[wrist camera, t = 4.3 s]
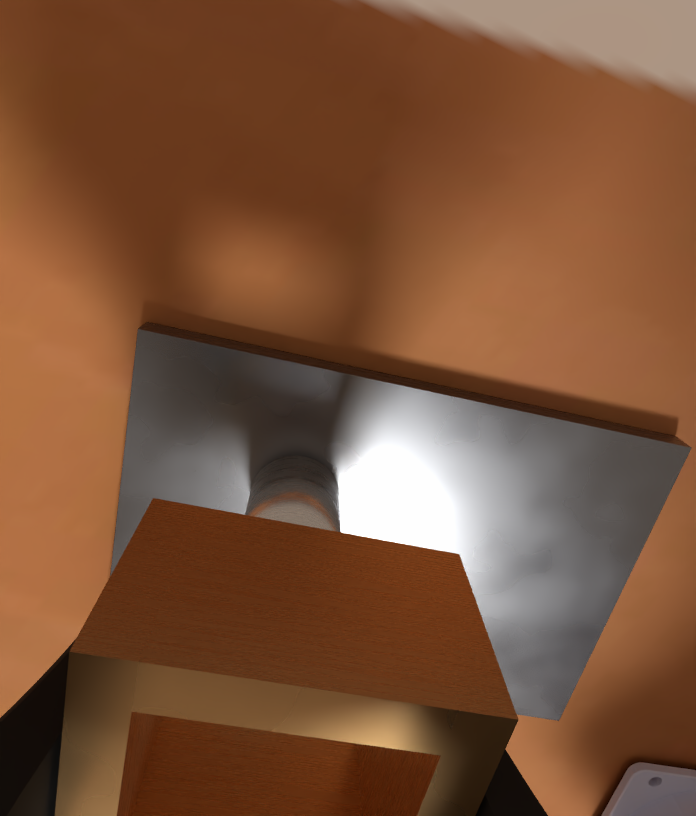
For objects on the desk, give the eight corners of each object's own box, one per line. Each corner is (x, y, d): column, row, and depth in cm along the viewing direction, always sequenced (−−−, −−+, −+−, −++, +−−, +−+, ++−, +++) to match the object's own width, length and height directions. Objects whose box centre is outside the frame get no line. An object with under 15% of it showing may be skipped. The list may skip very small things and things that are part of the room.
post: (348, 465, 17) (353, 532, 14) (328, 539, 18) (329, 619, 15) (259, 447, 17) (243, 512, 14) (244, 524, 18) (225, 602, 15)
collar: (458, 554, 11) (518, 719, 8) (383, 767, 13) (403, 974, 9) (153, 497, 10) (69, 652, 7) (121, 731, 12) (43, 940, 9)
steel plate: (676, 436, 18) (691, 447, 17) (550, 701, 22) (558, 720, 21) (146, 322, 16) (138, 328, 16) (110, 633, 20) (102, 651, 19)
